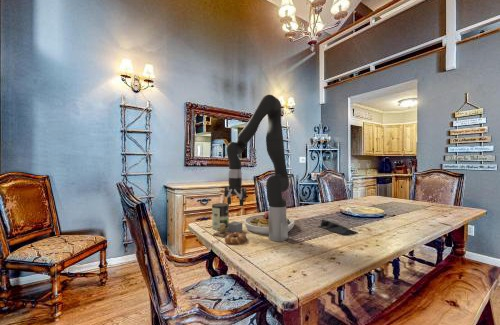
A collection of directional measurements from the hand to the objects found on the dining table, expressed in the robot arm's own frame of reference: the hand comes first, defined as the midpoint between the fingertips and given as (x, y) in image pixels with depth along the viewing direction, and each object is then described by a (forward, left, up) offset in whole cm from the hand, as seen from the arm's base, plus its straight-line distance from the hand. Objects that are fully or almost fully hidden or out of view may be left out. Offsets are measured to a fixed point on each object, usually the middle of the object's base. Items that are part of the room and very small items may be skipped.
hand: (235, 205), depth 131 cm
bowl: (-13, -17, -16) cm, 27 cm away
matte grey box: (0, 0, -15) cm, 16 cm away
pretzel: (-9, +12, -16) cm, 22 cm away
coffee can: (+13, -2, -16) cm, 20 cm away
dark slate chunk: (-49, -34, -16) cm, 62 cm away
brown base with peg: (+3, +8, -15) cm, 18 cm away
